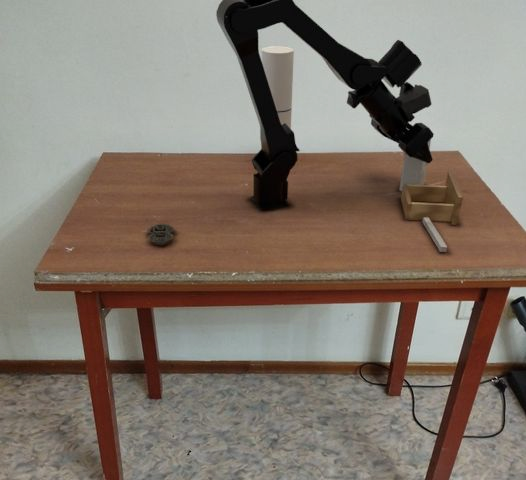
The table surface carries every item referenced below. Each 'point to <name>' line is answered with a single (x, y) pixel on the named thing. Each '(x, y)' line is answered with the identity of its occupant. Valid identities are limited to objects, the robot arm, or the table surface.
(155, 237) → the corroded twin loop
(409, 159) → the cosmetic box
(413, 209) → the wooden tray frame
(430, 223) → the ruler
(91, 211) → the table surface
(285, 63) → the cylindrical container
